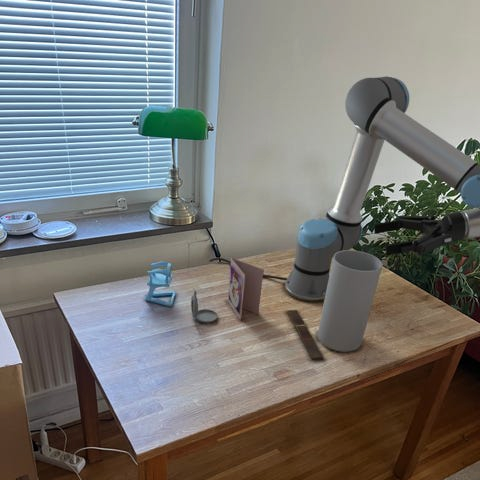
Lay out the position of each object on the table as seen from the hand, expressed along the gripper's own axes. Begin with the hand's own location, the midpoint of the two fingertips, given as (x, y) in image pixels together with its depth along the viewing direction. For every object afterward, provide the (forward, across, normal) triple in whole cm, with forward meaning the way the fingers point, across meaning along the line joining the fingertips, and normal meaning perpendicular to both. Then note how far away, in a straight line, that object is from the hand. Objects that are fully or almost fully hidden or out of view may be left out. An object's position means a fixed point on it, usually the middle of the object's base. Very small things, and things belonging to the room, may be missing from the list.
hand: (379, 239), depth 127 cm
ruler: (+24, -8, -22) cm, 33 cm away
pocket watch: (+53, -3, -14) cm, 55 cm away
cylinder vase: (+14, -10, -25) cm, 30 cm away
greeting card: (+41, +3, -18) cm, 45 cm away
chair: (+66, +6, -11) cm, 67 cm away
